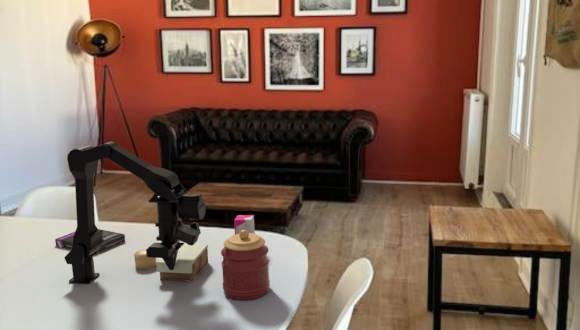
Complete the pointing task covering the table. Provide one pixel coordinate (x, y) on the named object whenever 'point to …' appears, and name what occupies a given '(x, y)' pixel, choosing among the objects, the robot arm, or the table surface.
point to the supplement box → (244, 223)
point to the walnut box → (196, 270)
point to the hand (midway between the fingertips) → (171, 269)
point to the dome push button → (143, 260)
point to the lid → (183, 259)
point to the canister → (245, 266)
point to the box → (108, 237)
